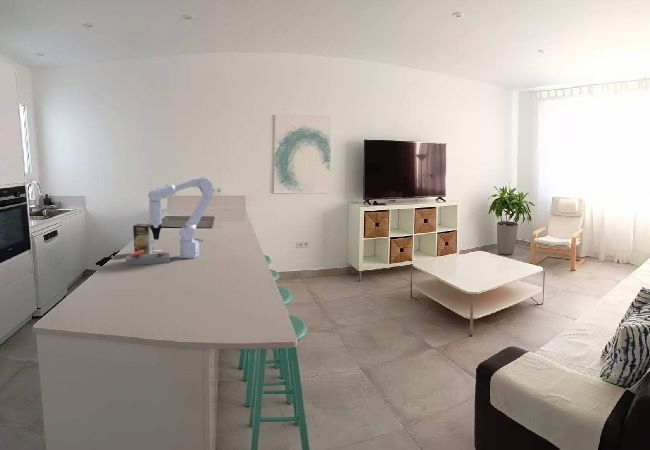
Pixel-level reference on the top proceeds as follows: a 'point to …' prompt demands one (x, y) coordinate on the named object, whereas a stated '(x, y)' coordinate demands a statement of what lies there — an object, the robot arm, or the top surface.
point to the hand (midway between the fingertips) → (156, 239)
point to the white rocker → (158, 251)
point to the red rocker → (137, 253)
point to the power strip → (147, 259)
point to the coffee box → (143, 238)
